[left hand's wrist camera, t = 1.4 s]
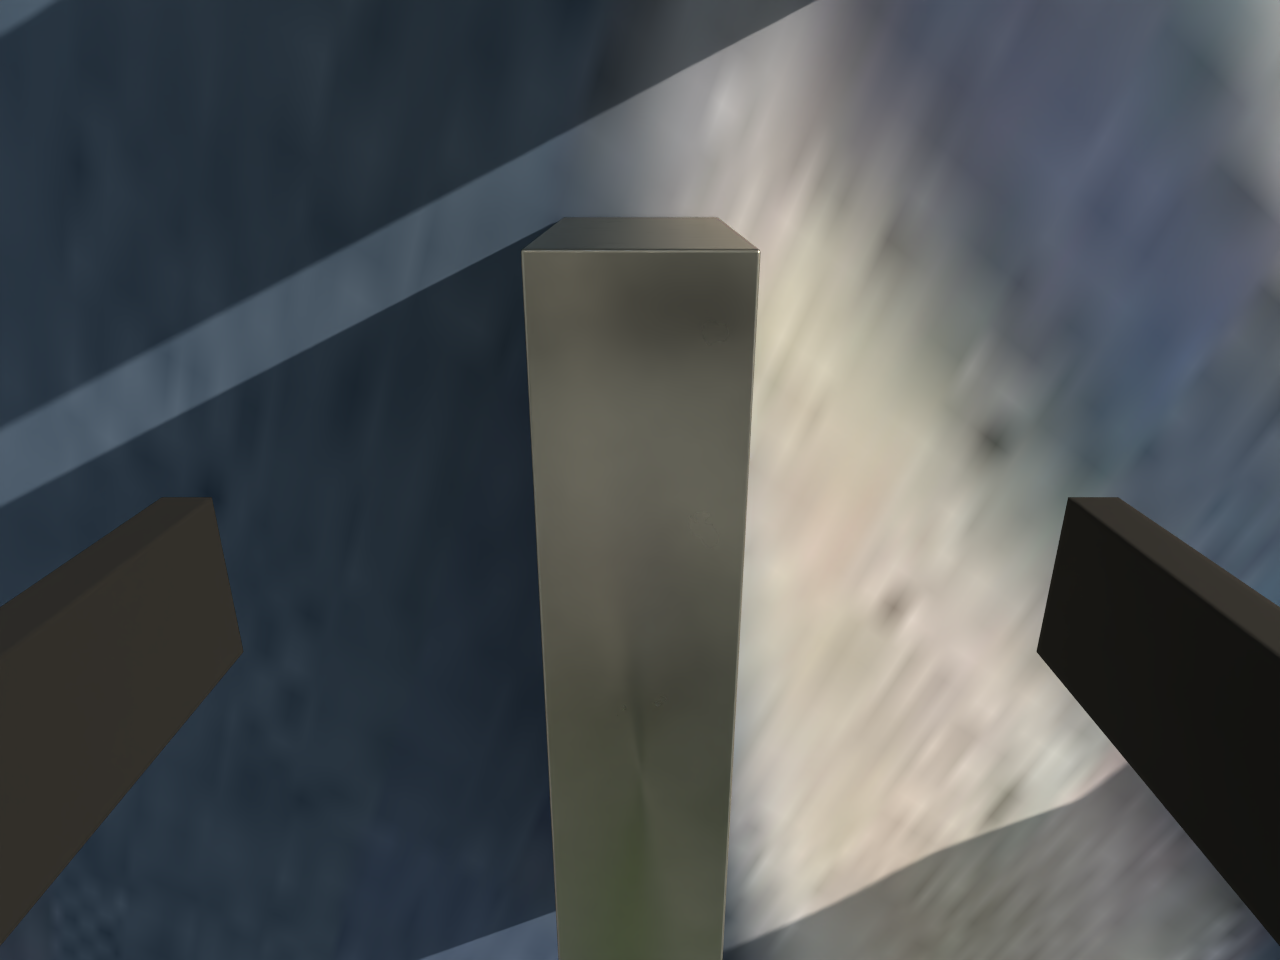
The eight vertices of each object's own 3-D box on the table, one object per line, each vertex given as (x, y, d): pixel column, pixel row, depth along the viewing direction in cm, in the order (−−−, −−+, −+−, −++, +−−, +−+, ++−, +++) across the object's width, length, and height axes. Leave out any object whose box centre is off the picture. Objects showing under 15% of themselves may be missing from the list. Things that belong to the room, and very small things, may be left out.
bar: (562, 217, 23) (520, 249, 15) (719, 217, 23) (761, 249, 15) (584, 862, 32) (565, 1096, 24) (696, 862, 32) (715, 1097, 24)
